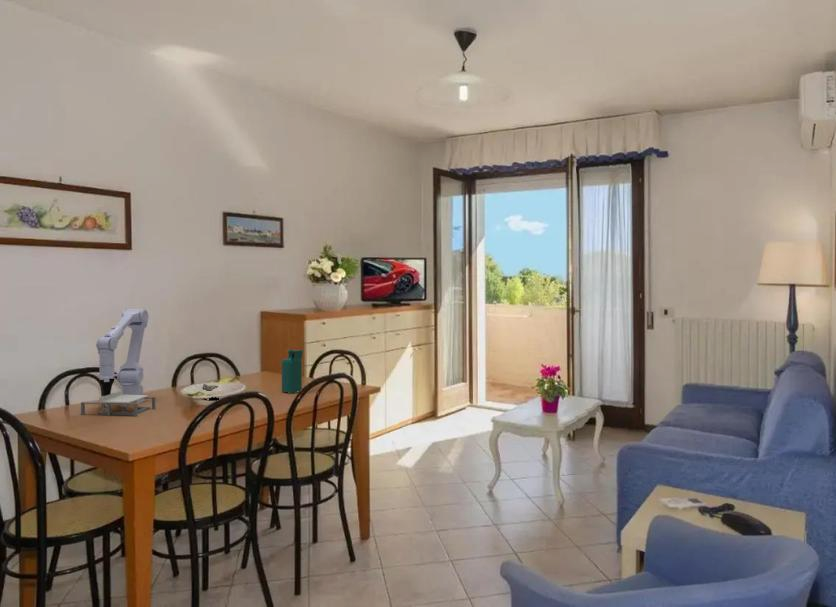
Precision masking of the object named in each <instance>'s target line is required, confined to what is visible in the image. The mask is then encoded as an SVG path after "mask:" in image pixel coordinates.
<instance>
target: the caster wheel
mask: <svg viewBox="0 0 836 607" xmlns="http://www.w3.org/2000/svg"><path fill="white" fill-rule="evenodd" d="M217 387H219V386H218V385H208V384H206V383H203V385H202V387H201V388H202V389H203V390H206V391H212V390H213V389H215V388H217ZM202 389H201V390H202Z"/></svg>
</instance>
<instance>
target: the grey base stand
mask: <svg viewBox="0 0 836 607" xmlns="http://www.w3.org/2000/svg"><path fill="white" fill-rule="evenodd" d="M146 399H149V400H151V409H152V410H155V409H156V397H155V396H148V397H145V398H144V400H146ZM138 404H139V403H137V404H127V403H104V402H95V401H94V402H93V401H92V402H91V401H90V402H89V401H87V402H86V401H82V402H80V415H81V416H82V415H85V413H86V410H85V408H86V406H85V405H101V408H105V409H102V410H99V411H98V412H97V415H104V416H105V415H107V416H133V417H138V415H139V414H141V413H144V412H146V411H149V410H150V406H139V405H138ZM111 405H122V410H119V411H112V410H111ZM127 405H134V411H126V409H127Z"/></svg>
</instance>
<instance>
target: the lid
mask: <svg viewBox="0 0 836 607" xmlns="http://www.w3.org/2000/svg"><path fill="white" fill-rule="evenodd" d="M145 397H149V395H148V394H147V395H146V394H145V395H144V394H143V395H123V391H122V390H118V391H115V392H112V393H111V394H109V395H106V396H104V395H101V396H100V397H99V403H102V402H104V403H131V402H134V401H137V400H140V399H142V398H143V399H145Z"/></svg>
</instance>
